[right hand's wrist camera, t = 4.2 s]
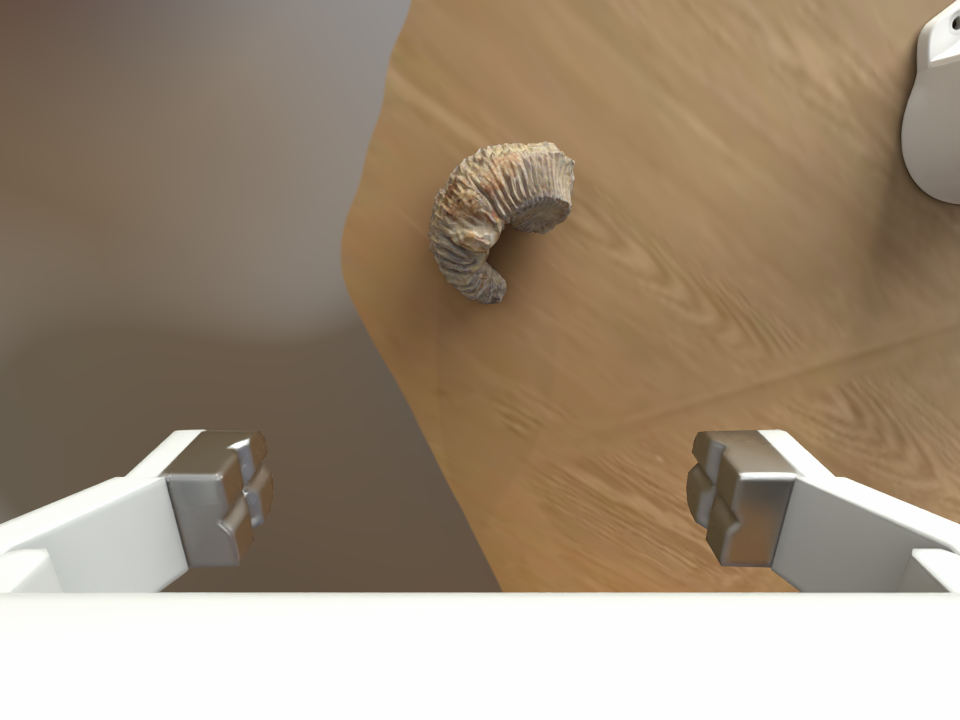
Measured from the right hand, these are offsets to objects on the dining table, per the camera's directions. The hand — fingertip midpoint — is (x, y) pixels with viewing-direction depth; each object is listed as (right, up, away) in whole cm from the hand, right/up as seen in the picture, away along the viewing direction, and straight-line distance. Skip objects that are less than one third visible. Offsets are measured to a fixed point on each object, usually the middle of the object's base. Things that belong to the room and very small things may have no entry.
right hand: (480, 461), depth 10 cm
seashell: (+2, +14, +35) cm, 38 cm away
